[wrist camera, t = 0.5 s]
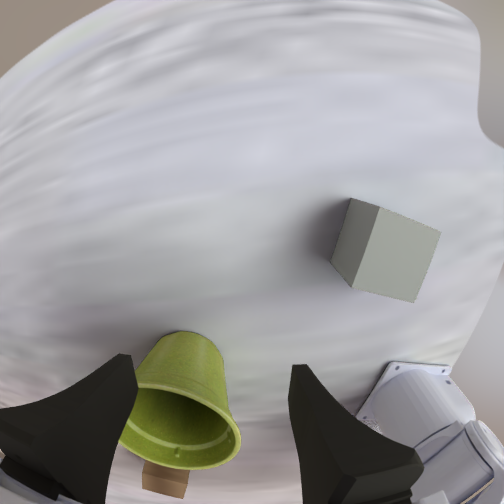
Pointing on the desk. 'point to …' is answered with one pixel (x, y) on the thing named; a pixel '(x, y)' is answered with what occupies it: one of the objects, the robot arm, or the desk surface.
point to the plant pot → (182, 406)
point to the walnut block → (164, 479)
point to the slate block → (383, 251)
